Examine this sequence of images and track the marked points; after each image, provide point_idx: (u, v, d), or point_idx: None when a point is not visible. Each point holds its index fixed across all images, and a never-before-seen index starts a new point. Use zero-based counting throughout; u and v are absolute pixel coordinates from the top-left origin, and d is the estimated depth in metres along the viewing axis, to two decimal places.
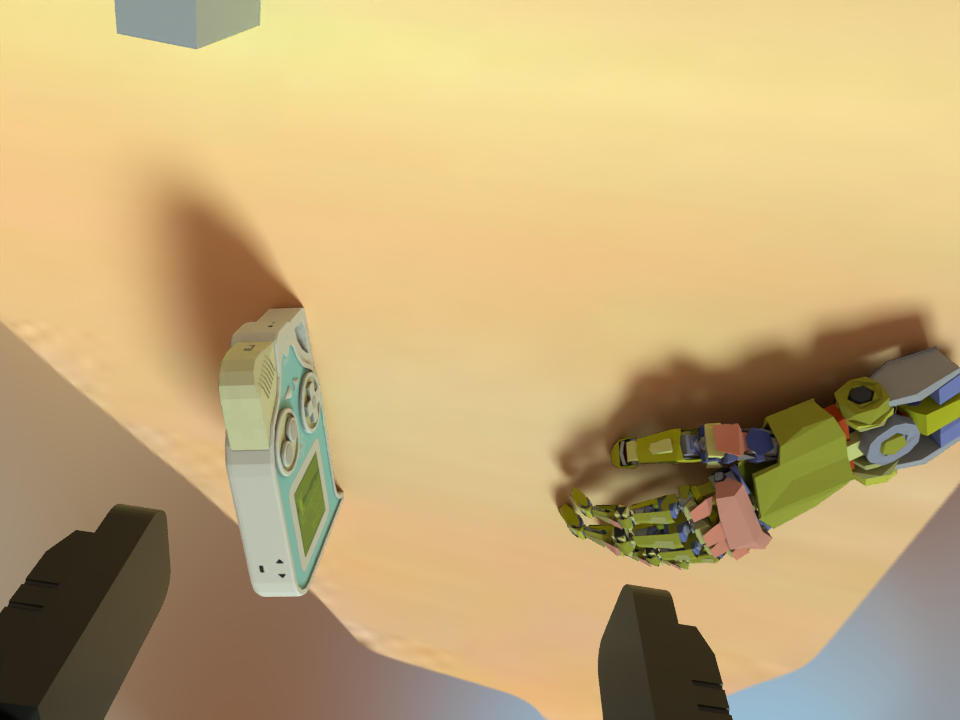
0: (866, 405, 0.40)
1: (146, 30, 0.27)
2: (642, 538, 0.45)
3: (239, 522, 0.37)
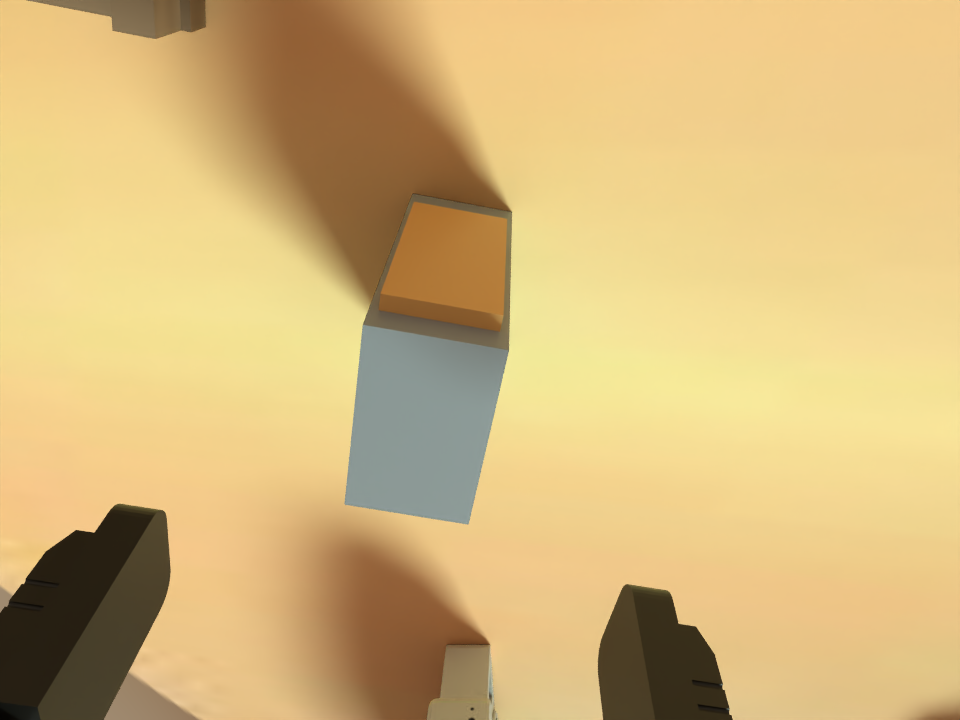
0: None
1: (392, 502, 0.17)
2: None
3: None
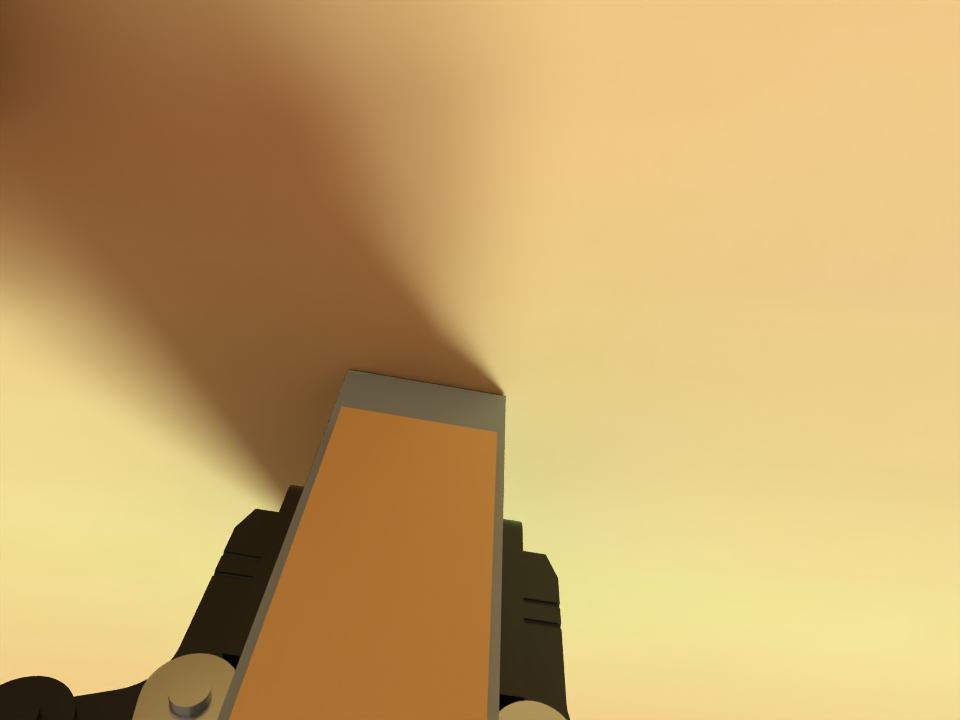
0: None
1: None
2: None
3: None
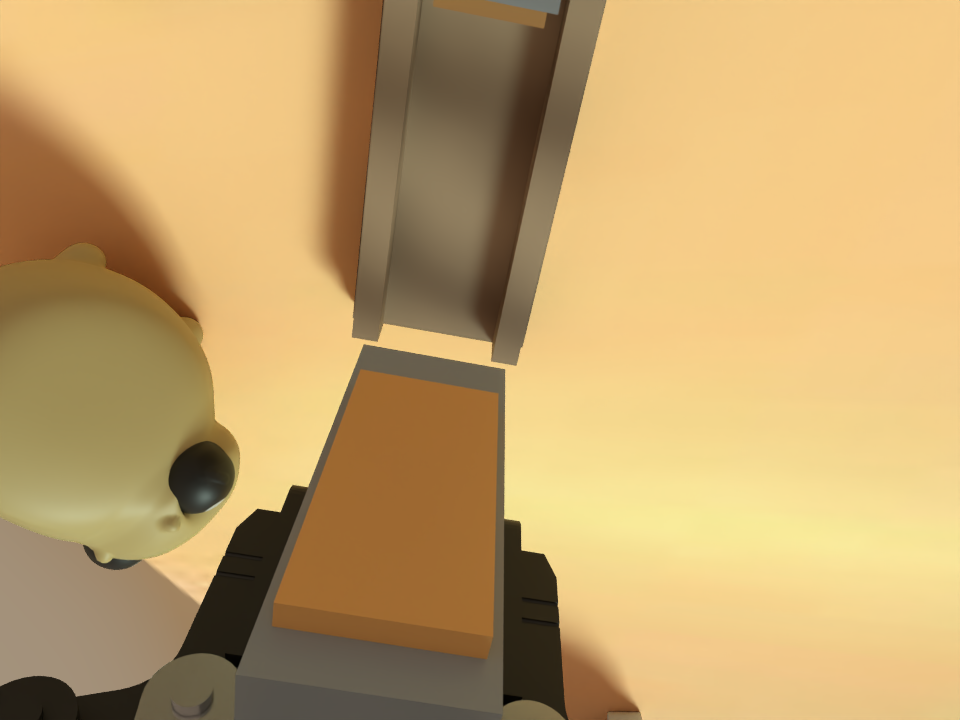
0: None
1: None
2: None
3: None
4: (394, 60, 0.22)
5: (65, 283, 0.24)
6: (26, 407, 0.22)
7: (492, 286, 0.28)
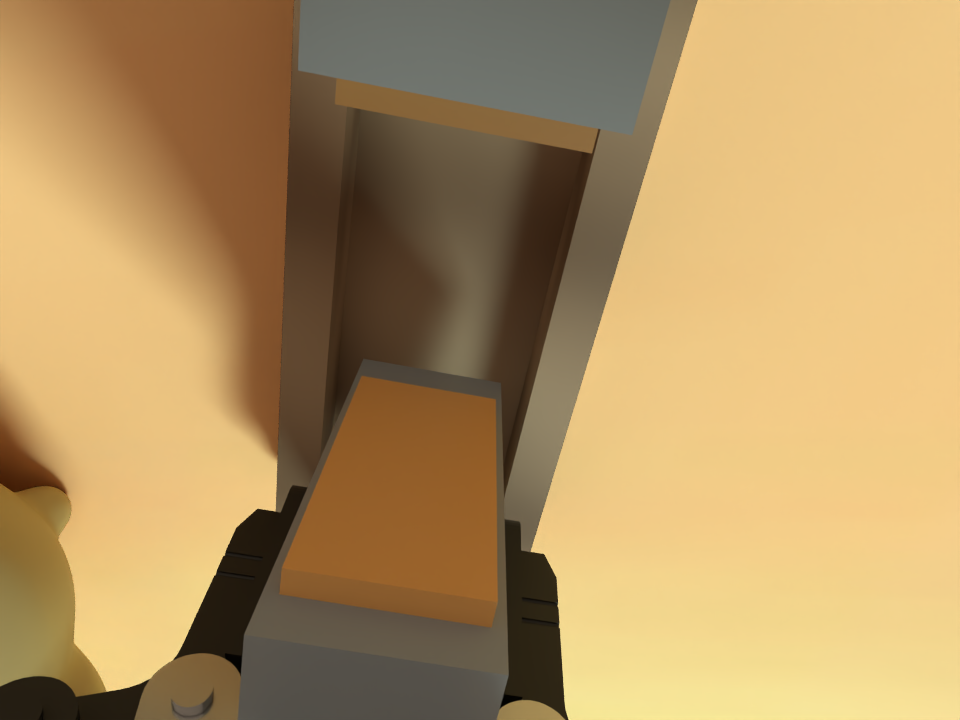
0: None
1: None
2: None
3: None
4: (315, 149, 0.13)
5: None
6: None
7: None
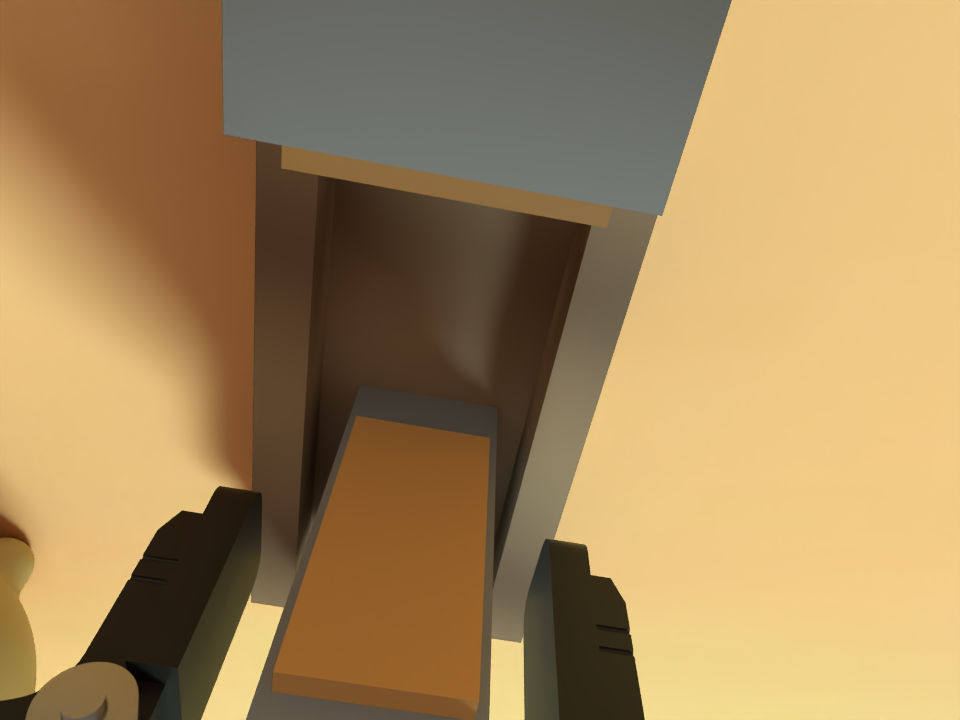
0: None
1: None
2: None
3: None
4: (286, 188, 0.12)
5: None
6: None
7: None
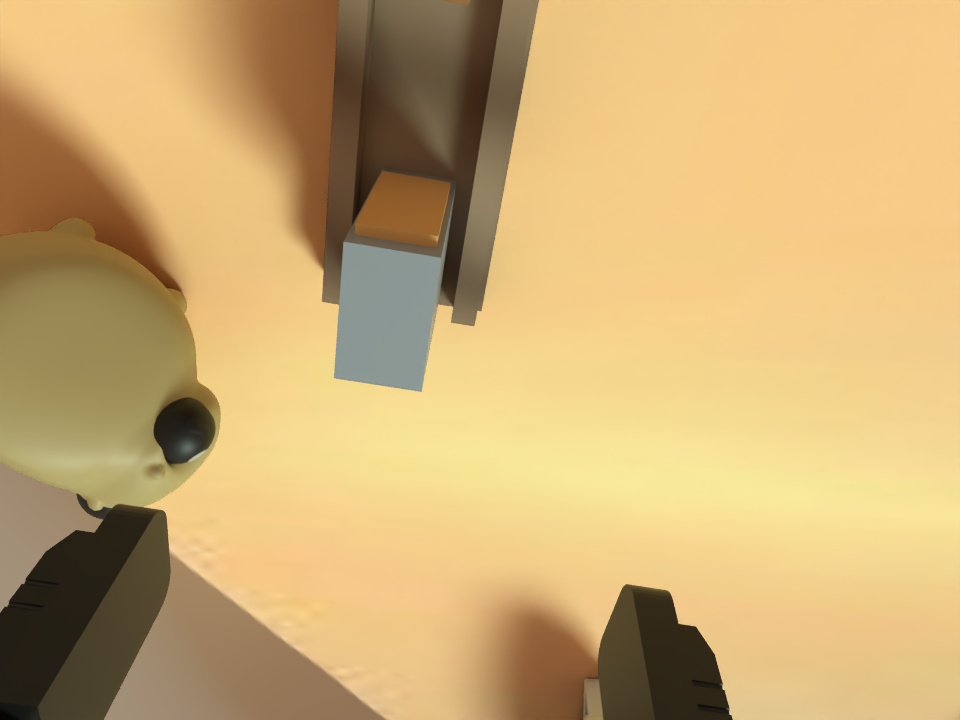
0: None
1: (367, 375, 0.24)
2: None
3: None
4: (350, 42, 0.25)
5: (56, 250, 0.26)
6: (22, 359, 0.25)
7: (451, 253, 0.30)
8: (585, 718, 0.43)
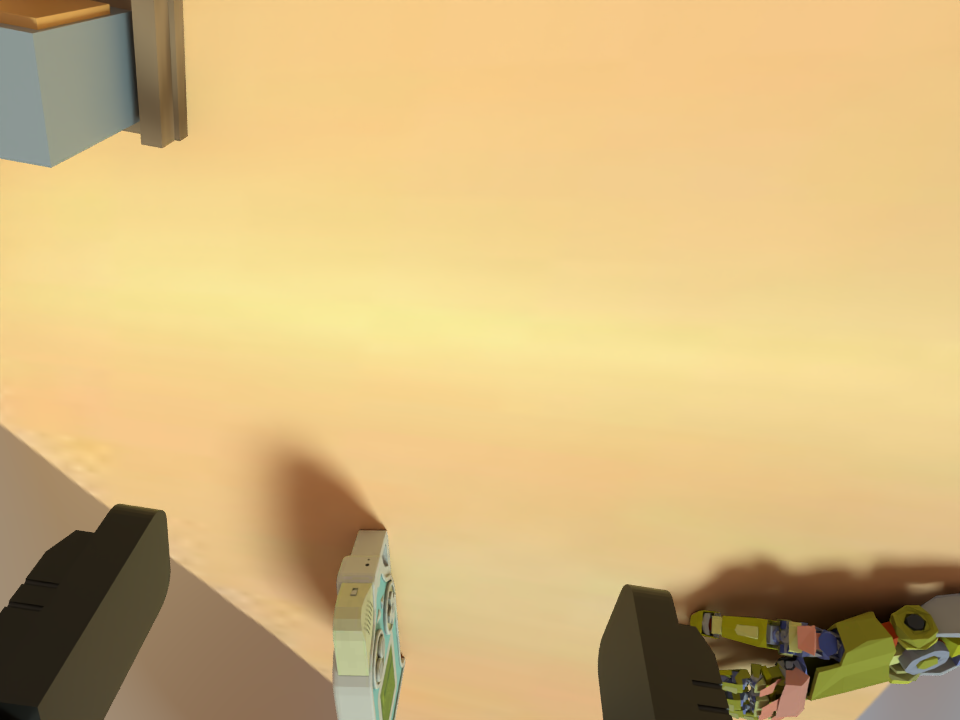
0: (919, 632, 0.49)
1: (1, 151, 0.28)
2: None
3: None
4: None
5: None
6: None
7: None
8: None
